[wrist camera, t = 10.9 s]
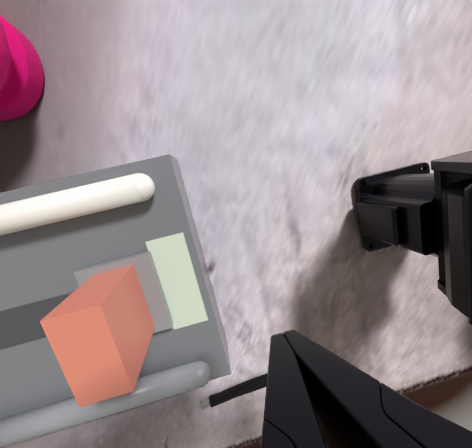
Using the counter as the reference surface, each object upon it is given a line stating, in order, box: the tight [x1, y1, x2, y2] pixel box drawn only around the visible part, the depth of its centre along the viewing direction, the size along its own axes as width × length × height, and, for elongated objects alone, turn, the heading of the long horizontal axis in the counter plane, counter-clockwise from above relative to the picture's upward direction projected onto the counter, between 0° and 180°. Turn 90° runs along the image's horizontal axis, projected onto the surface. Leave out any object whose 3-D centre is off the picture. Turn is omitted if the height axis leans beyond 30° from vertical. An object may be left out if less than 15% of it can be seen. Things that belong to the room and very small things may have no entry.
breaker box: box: [0, 154, 231, 448], centre depth 17 cm, size 18×16×6 cm
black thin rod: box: [200, 373, 268, 410], centre depth 23 cm, size 12×1×1 cm, turn 107°
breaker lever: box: [40, 251, 173, 408], centre depth 13 cm, size 4×5×5 cm
